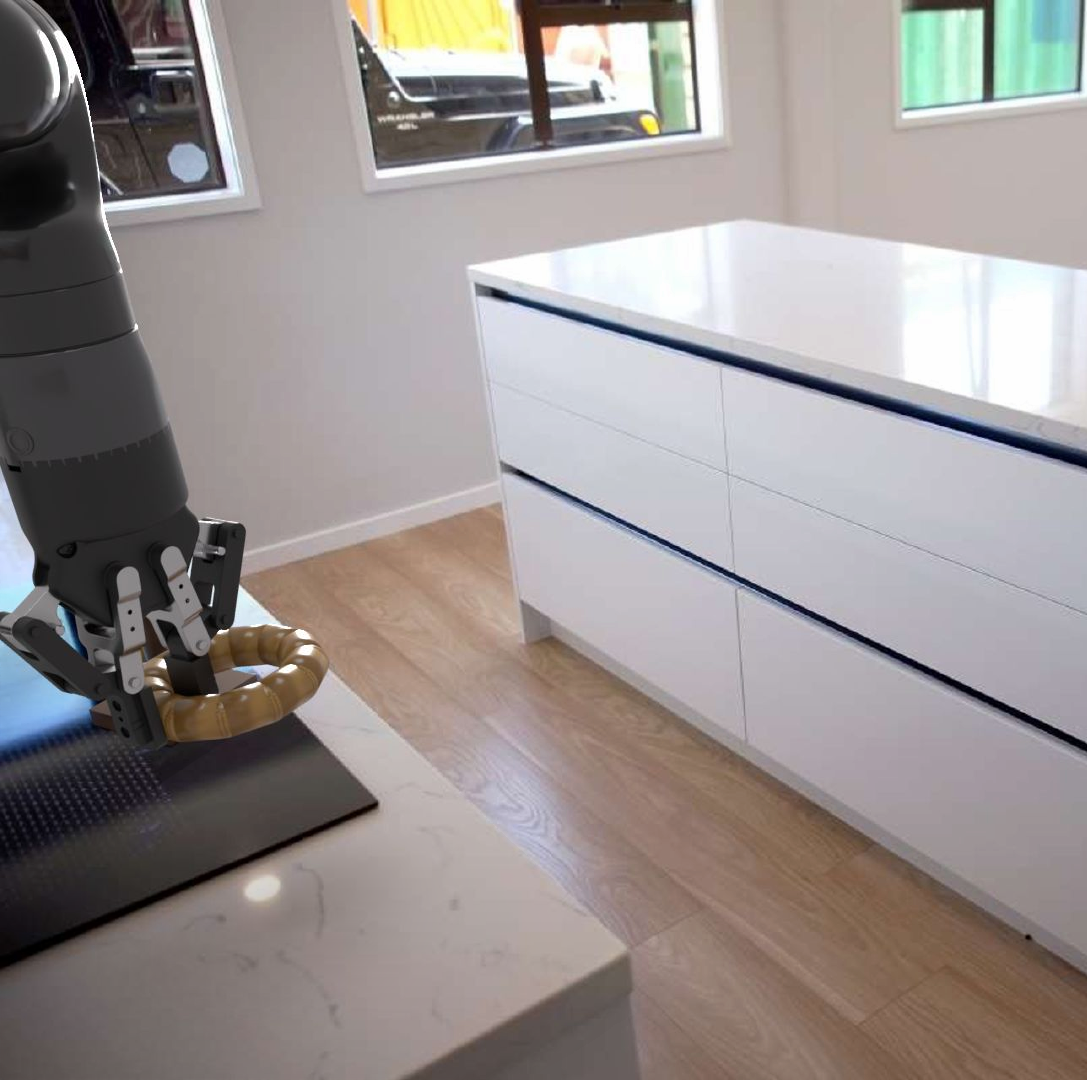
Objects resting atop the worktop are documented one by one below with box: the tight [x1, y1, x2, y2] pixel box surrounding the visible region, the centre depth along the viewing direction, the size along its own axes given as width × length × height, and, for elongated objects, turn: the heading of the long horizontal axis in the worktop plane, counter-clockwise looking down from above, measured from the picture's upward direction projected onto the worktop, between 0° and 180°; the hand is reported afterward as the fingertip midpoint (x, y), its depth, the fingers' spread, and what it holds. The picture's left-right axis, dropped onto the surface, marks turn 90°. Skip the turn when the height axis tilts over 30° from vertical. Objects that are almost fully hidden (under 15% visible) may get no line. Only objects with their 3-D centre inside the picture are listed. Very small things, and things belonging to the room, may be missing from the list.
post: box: [88, 617, 259, 747], centre depth 100 cm, size 9×9×12 cm
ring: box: [143, 623, 330, 743], centre depth 70 cm, size 10×10×2 cm
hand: (174, 728), depth 67 cm, fingers closed on ring, 2 cm apart
